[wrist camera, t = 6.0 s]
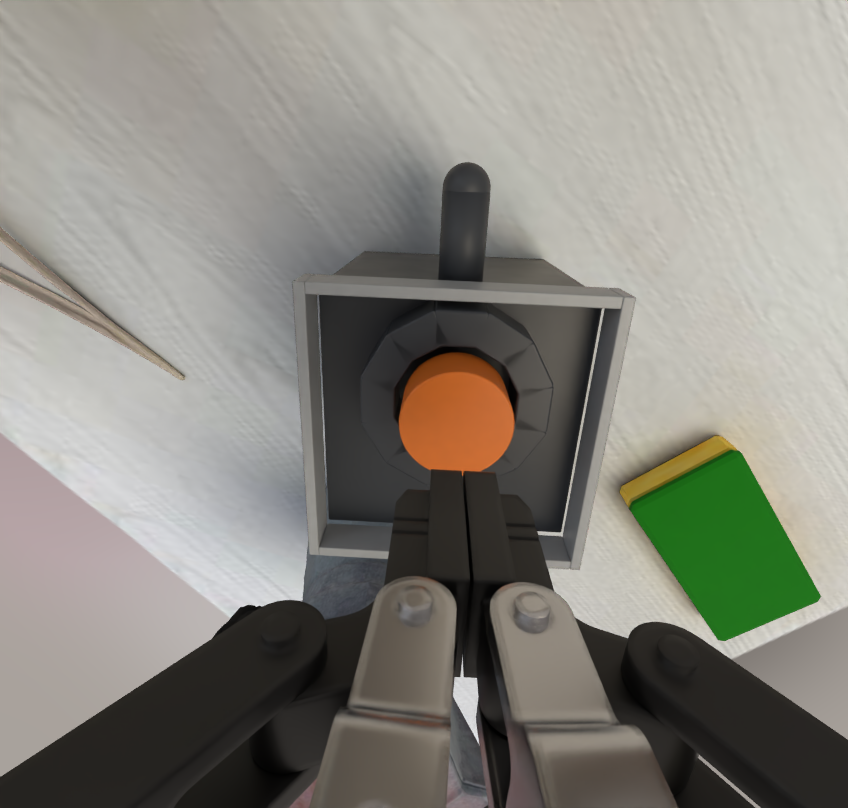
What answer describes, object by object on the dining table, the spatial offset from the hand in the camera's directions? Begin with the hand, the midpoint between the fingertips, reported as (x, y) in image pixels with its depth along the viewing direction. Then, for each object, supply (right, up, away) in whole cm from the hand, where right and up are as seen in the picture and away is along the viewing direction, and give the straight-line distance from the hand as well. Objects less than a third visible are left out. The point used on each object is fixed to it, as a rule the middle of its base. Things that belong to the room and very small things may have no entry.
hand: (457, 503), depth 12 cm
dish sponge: (+19, -6, +23) cm, 30 cm away
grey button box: (+1, +6, +18) cm, 19 cm away
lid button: (0, +2, +6) cm, 6 cm away
